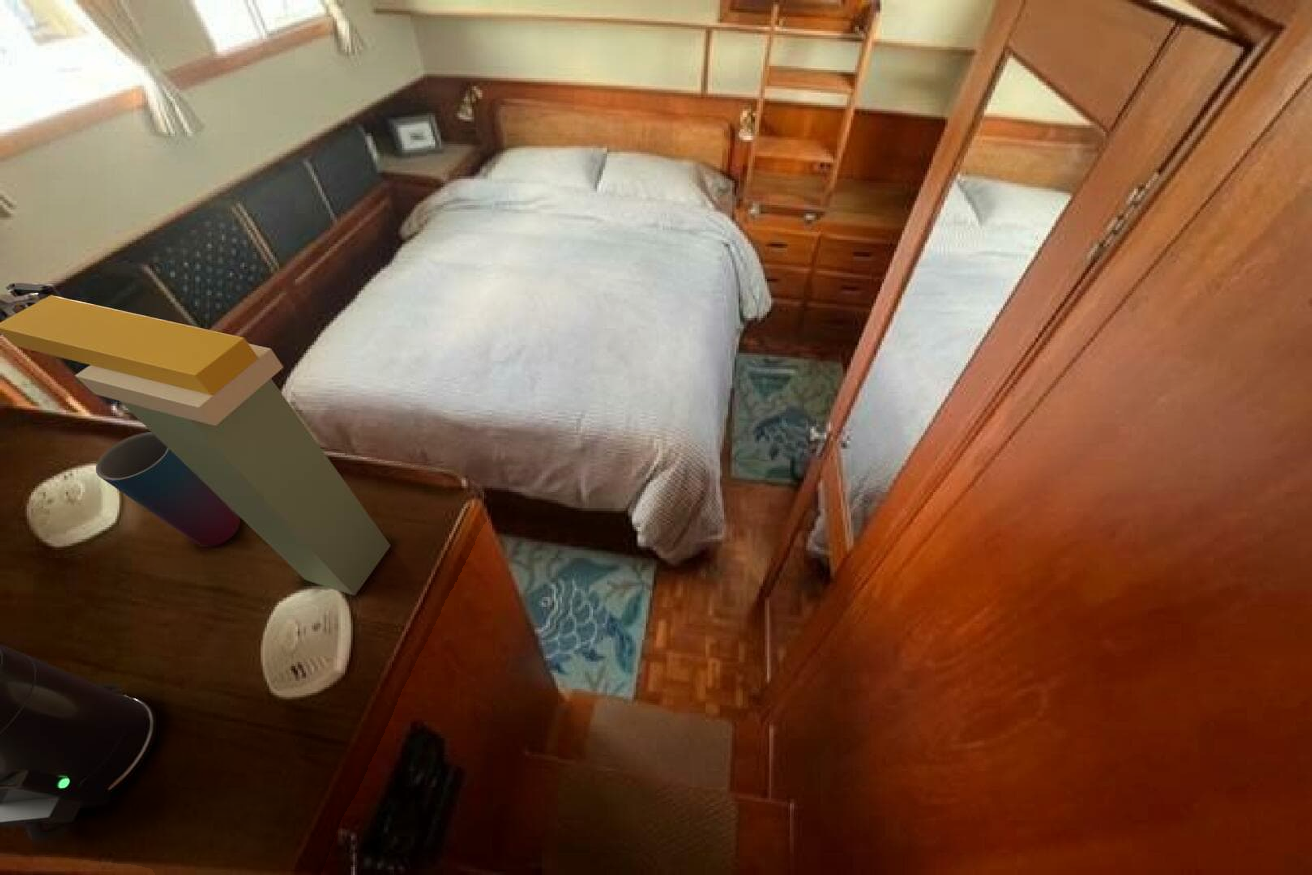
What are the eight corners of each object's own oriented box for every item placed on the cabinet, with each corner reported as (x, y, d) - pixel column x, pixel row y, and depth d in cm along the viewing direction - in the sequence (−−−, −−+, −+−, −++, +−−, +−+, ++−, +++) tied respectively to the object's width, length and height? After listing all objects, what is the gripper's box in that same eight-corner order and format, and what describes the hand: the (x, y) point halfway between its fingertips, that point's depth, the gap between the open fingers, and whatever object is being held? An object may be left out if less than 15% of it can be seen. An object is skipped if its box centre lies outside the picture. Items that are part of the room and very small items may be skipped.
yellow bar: (259, 358, 42) (244, 337, 41) (212, 395, 40) (195, 375, 38) (70, 314, 46) (50, 294, 45) (15, 346, 43) (-8, 326, 42)
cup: (229, 553, 67) (144, 480, 56) (175, 552, 67) (79, 479, 56) (258, 508, 71) (184, 432, 60) (207, 507, 71) (124, 431, 60)
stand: (408, 550, 67) (271, 348, 43) (373, 601, 63) (198, 407, 39) (327, 527, 69) (155, 322, 46) (288, 574, 65) (74, 375, 41)
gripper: (-226, 325, 48) (-124, 343, 43) (-37, 255, 57) (62, 264, 53) (-135, 392, 53) (-35, 414, 48) (25, 317, 62) (120, 329, 58)
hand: (15, 335), depth 51 cm, fingers open, 8 cm apart
